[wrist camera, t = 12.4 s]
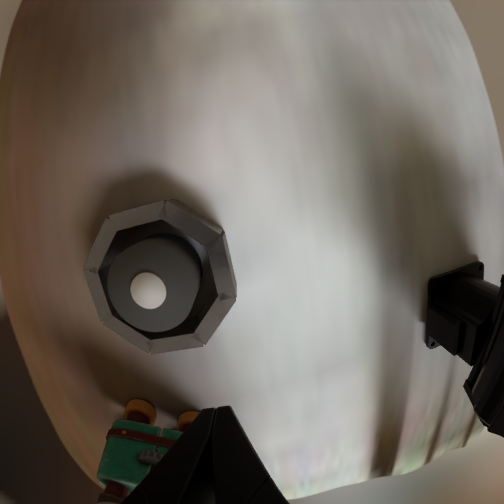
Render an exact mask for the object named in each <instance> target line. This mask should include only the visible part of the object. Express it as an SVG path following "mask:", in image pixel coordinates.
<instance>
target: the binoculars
mask: <svg viewBox="0 0 504 504" xmlns="http://www.w3.org/2000/svg"><path fill="white" fill-rule="evenodd" d="M199 413H200V412H196V411H188V412H185V413H183V414H181V415H180V417H179V419H178V424H177V431H176V430H171V429H163V431H162V435H161V437H159V435H160V431H161V428H160V427H157V426H154V423H155V420H156V416H157V414H156V411H155V409H154V408H153V406H152V405H151V404H149V403H148V402H146V401H144V400H140V399H134V400H131V401H130V402H129V403H128V404H127V407H126V409H125V412H124V416H125V419H126V420H117V421H115V422H114V423H113V425H112V428H111V429H109V431H108V434H107V436H106V440H107V442H106V445H105V448H104V451H103V455H102V458H101V461H100V465H99V468H98V472H97V479H98V481H99V482H100V483H101V485H102V486H104V487H105V490H104V493H100V495H99V498H98V501H97V504H120V503H121V502H122V501H123V500H124V499H125V498H126V497H127V496H128V495H129V494H130V493H131V492H132V491H133V490H134V488H135V487H136V486H137V485H138V484H140V482H141V481H142V480H143V479H144V478H145V476H146V475H147V474H148V473H149V472H150V471H151V470H152V469H153V467H154V466H155V465H156V464H157V463H158V462H159V461H160V459H161V458H162V457H163V456H164V455H165V454H166V452H167V451H168V450H169V449H170V448H171V447H172V445H173V444H174V443H175V442H176V441H177V439H178V438H179V437H180V436H181V435H182V433H183V432H184V431H185V430H186V429H187V427H188V426H189V425H190V424H191V422H192V421H193V420H194V419H195V418H196V416H197V415H198V414H199ZM158 446H159V447H158ZM157 448H158V451H157Z"/></svg>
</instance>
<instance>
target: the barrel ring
mask: <svg viewBox="0 0 504 504" xmlns="http://www.w3.org/2000/svg"><path fill="white" fill-rule="evenodd" d="M161 219H163V220H165V221H166V222H168V223H169V224H171V225H172V226H174V227H176V228H177V229H179V230H180V231H182V232H183V233H185V234H187V235H188V236H190V237H191V238H193V239H194V240H196V241H198V242H199V243H201V244H202V245H204V246H205V247H206V248H207V252H208V256H209V260H210V265H211V269H212V273H213V277H214V281H215V285H216V291H215V292H214V294H213V295H212V297H211V299H210V300H209V302H208V303H207V305H206V306H205V308H204V309H203V311H202V312H201V314H200V315H199V317H195V318H189V319H185V320H184V321H183V322H182V323H180V324H179V325H178V326H176V327H174V328H173V329H170V330H167V331H163V332H149V331H144V330H141V329H139V328H136V327H134V326H133V325H131V324H129V323H128V322H127V321H125V320H124V319H123V318H122V317H121V316H120V315H119V313H118V312H117V311H116V309H115V308H114V306H113V304H112V302H111V299H110V296H109V293H108V284H107V281H108V274H109V270H110V267H111V265H112V263H113V261H114V259H115V257H116V255H117V253H118V251H119V249H120V247H121V245H122V243H123V241H124V239H125V237H126V235H127V233H128V231H129V229H130V227H133V226H137V225H141V224H145V223H149V222H153V221H157V220H161ZM222 230H223V229H222V228H220V227H219V226H217V225H216V224H214V223H213V222H211V221H209V220H208V219H206V218H205V217H203V216H201V215H200V214H198V213H197V212H195V211H194V210H192V209H190V208H189V207H187V206H186V205H184V204H183V203H181V202H179V201H178V200H173V199H169V200H162V201H158V202H155V203H151V204H147V205H143V206H140V207H136V208H133V209H129V210H125V211H122V212H119V213H115V214H112V215H109V217H107V218H106V219H105V221H104V223H103V225H102V227H101V229H100V231H99V233H98V235H97V238H96V240H95V242H94V244H93V246H92V248H91V251H90V253H89V255H88V258H87V260H86V262H85V264H84V267H85V268H86V269H84V273H85V276H86V280H87V283H88V286H89V289H90V292H91V295H92V298H93V301H94V304H95V307H96V310H97V312H98V315H99V318H100V321H104V323H103V325H105V326H106V327H108V328H109V329H111V330H112V331H114V332H115V333H117V334H118V335H120V336H121V337H123V338H124V339H126V340H128V341H129V342H131V343H132V344H134V345H136V346H137V347H139V348H140V349H142V350H144V351H145V352H147V353H149V351H150V352H151V354H155V353H163V352H170V351H177V350H184V349H190V348H197V347H203V344H205V345H206V343H207V342H208V341H209V339H210V338H211V336H212V335H213V333H214V332H215V330H216V329H217V328H218V326H219V325H220V323H221V322H222V320H223V319H224V317H225V316H226V315H227V313H228V312H229V310H230V309H231V307H232V306H233V304H234V303H235V301H236V297H237V283H236V279H235V275H234V270H233V266H232V262H231V257H230V253H229V248H228V244H227V239H226V235H225V232H222ZM221 232H222V233H221Z"/></svg>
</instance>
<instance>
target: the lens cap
mask: <svg viewBox="0 0 504 504" xmlns="http://www.w3.org/2000/svg"><path fill="white" fill-rule="evenodd" d="M202 276H203V269H202V263H201V260H200V257H199V255H198V253H197V252H196V250H195V249H194V248H193V246H192V245H191V244H190V243H189V242H187V241H186V240H185V239H183V238H181V237H179V236H176V235H173V234H167V233H160V234H155V235H152V236H150V237H148V238H146V239H144V240H142V241H140V242H138V243H136V244H135V245H133V246H131V247H129V248H127V249H126V250H124V251H123V252H121V253H120V254H119V255H118V256H117V257H116V259H115V260H114V261H113V263H112V265H111V267H110V270H109V274H108V281H107V284H108V293H109V296H110V299H111V302H112V304H113V306H114V308H115V309H116V311H117V312H118V313H119V315H120V316H121V317H122V318H123V319H124V320H125V321H127V322H128V323H129V324H131V325H133V326H134V327H136V328H139V329H141V330H144V331H149V332H163V331H167V330H170V329H173V328H174V327H176V326H178V325H179V324H180V323H182V322H183V321H184V320H185V319H186V317H187V316H188V314H189V312H190V311H191V308H192V306H193V303H194V300H195V298H196V295H197V293H198V290H199V287H200V285H201V282H202Z"/></svg>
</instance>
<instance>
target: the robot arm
mask: <svg viewBox="0 0 504 504" xmlns="http://www.w3.org/2000/svg"><path fill="white" fill-rule="evenodd" d="M483 277H484V264H483V263H482V262H480V261H477V262H475V263H472V264H469V265H466V266H464V267H461V268H458V269H455V270H452V271H449V272H447V273H444V274H441V275H438V276H435V277H432V278H431V279H430V280H429V283H428V310H427V339H426V346H427V347H428V348H429V349H433V348H436V347H438V346H440V345H441V346H443V347H444V348H445V349H446V350H447V351H448V352H450V353H451V354H452V355H454V356H455V355H458V356H459V357H460V358H462V359H463V360H464V361H465V362H466V363H468V364H469V365H470V366H473V368H472V370H471V372H470V375H469V377H468V379H466V381H465V383H464V385H463V387H464V389H465V391H466V393H467V395H468V397H469V399H470V401H471V403H472V405H473V407H474V411H475V413H476V414H477V416H478V418H479V419H480V421H481V422H482V424H483V425H484V426H486V427H487V428H488V429H487V430H488V431H489V432H491V433H494V434H497V435H500V436H502V437H504V274H502V277H501V281H500V282H501V286H500V287H498V286H496V285H494V284H492V283H489V282H487V281H485V280H483ZM434 282H435V285H434ZM433 285H434V286H433ZM431 343H432V344H431ZM120 504H289V503H288V501H287V500H286V499H285V497H284V496H283V495H282V493H281V492H280V490H279V489H278V487H277V486H276V484H275V483H274V481H273V479H272V478H271V477H270V475H269V473H268V471H267V470H266V468H265V466H264V465H263V463H262V461H261V460H260V458H259V456H258V455H257V453H256V451H255V449H254V448H253V446H252V444H251V442H250V441H249V439H248V437H247V435H246V433H245V432H244V430H243V428H242V426H241V424H240V422H239V421H238V419H237V417H236V415H235V413H234V411H233V409H232V407H231V406H222V407H218V408H217V409H216V408H206V409H202V410H201V411H200V413H199V414H198V415H197V416H196V418H195V419H194V420H193V421H192V422H191V424H190V425H189V426H188V427H187V429H186V430H185V431H184V432H183V433H182V435H181V436H180V437H179V438H178V439H177V441H176V442H175V443H174V444H173V445H172V447H171V448H170V449H169V450H168V451H167V452H166V454H165V455H164V456H163V457H162V458H161V459H160V461H159V462H158V463H157V464H156V465H155V466H154V467H153V469H152V470H151V471H150V472H149V473H148V474H147V475H146V476H145V478H144V479H143V480H142V481H141V482H140V484H138V485H137V486H136V487H135V488H134V490H133V491H132V492H131V493H130V494H129V495H128V496H127V497H126V498H125V499H124V500H123V501H122V502H121V503H120Z"/></svg>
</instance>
